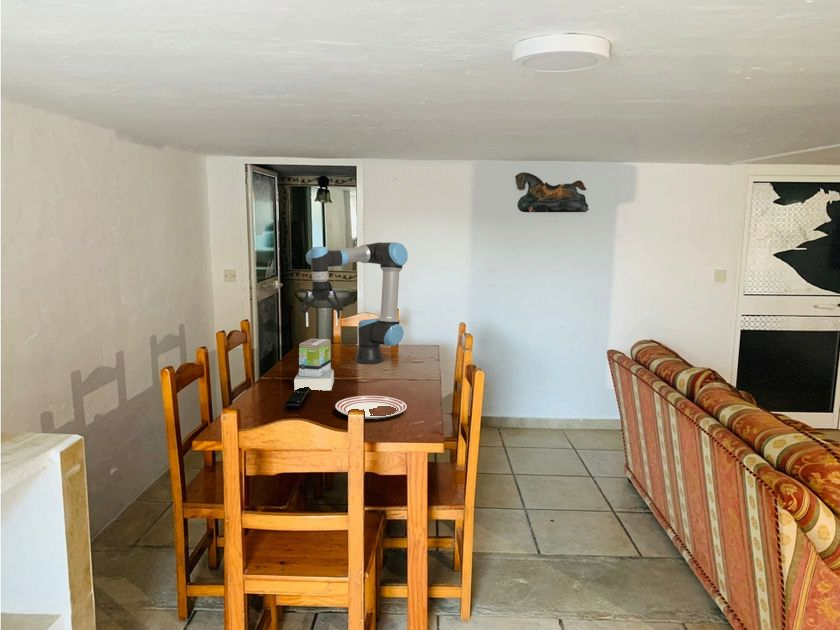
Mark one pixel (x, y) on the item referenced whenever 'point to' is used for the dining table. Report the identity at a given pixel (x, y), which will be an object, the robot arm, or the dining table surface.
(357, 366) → the dining table surface
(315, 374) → the tea box
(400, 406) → the dinner plate
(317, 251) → the robot arm
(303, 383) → the plinth
